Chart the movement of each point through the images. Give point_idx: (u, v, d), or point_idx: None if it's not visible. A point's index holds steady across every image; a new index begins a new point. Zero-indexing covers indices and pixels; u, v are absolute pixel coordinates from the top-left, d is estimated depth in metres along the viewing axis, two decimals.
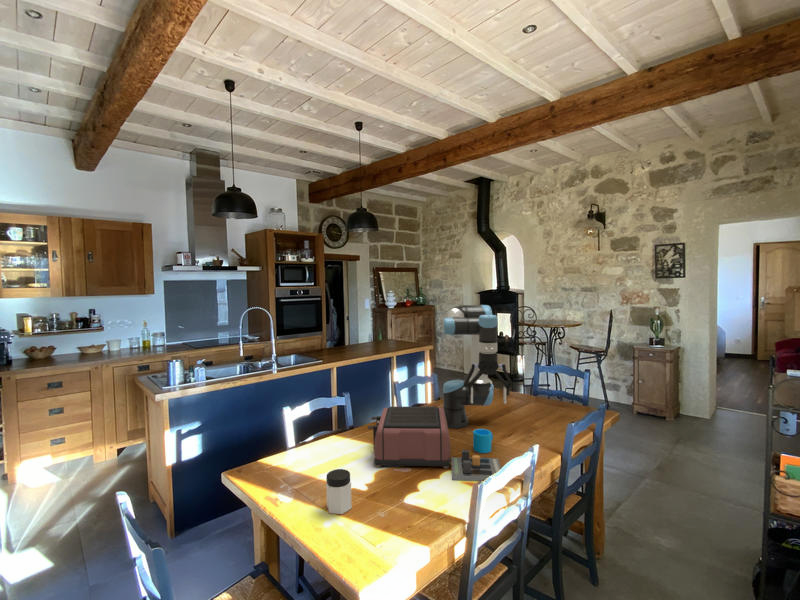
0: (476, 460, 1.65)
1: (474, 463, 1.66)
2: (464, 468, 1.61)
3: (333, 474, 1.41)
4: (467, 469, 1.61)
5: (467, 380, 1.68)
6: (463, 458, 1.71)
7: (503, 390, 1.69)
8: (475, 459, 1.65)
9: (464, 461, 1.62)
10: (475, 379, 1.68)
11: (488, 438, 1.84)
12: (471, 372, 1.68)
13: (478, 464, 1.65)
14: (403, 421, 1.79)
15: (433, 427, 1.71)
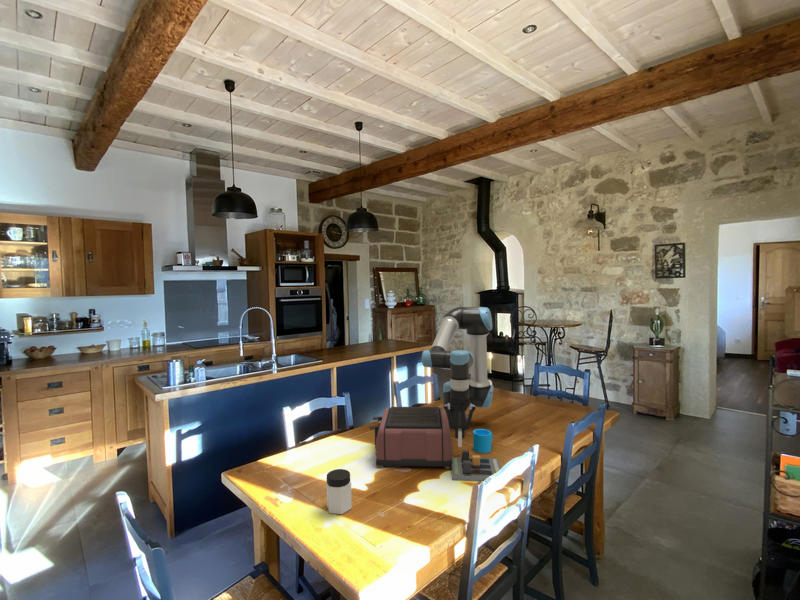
0: (476, 460, 1.65)
1: (474, 463, 1.66)
2: (464, 468, 1.61)
3: (333, 474, 1.41)
4: (467, 469, 1.61)
5: (451, 423, 1.65)
6: (463, 458, 1.71)
7: None
8: (475, 459, 1.65)
9: (464, 461, 1.62)
10: (456, 420, 1.65)
11: (488, 438, 1.84)
12: (448, 414, 1.65)
13: (478, 464, 1.65)
14: (405, 421, 1.78)
15: (435, 428, 1.71)
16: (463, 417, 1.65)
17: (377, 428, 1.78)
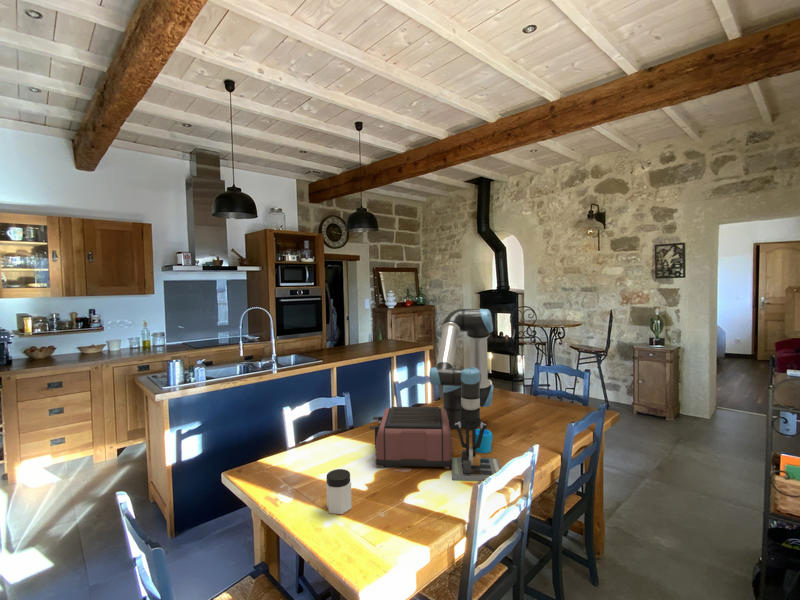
0: (476, 460, 1.65)
1: (474, 463, 1.66)
2: (464, 468, 1.61)
3: (333, 474, 1.41)
4: (467, 469, 1.61)
5: (462, 441, 1.65)
6: (463, 458, 1.71)
7: None
8: (475, 459, 1.65)
9: (464, 461, 1.62)
10: (467, 438, 1.65)
11: (488, 438, 1.84)
12: (459, 432, 1.65)
13: (478, 464, 1.65)
14: (405, 421, 1.78)
15: (435, 428, 1.71)
16: (474, 436, 1.65)
17: (377, 428, 1.78)
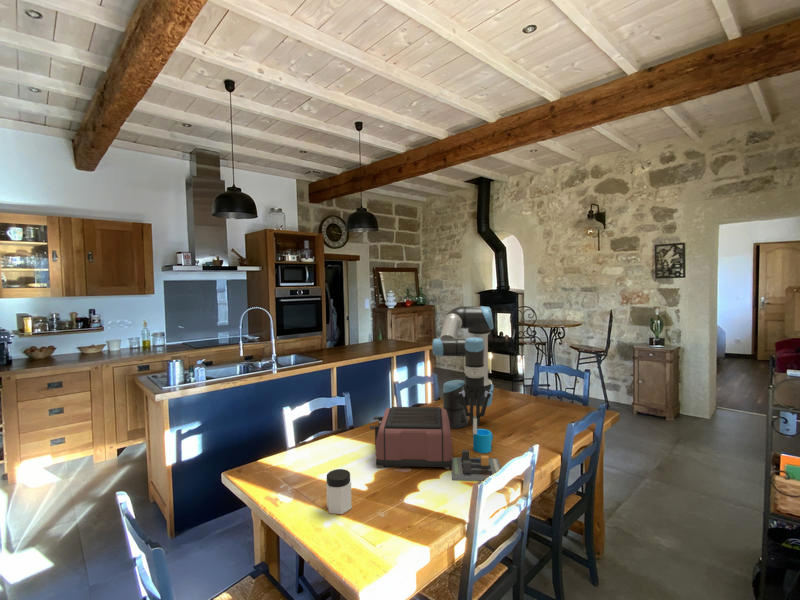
0: (484, 460, 1.65)
1: (483, 463, 1.65)
2: (464, 468, 1.61)
3: (333, 474, 1.41)
4: (467, 469, 1.61)
5: (466, 410, 1.65)
6: (463, 458, 1.71)
7: None
8: (483, 459, 1.65)
9: (464, 461, 1.62)
10: (471, 407, 1.64)
11: (488, 438, 1.84)
12: (463, 401, 1.64)
13: (487, 464, 1.65)
14: (405, 421, 1.78)
15: (435, 428, 1.70)
16: (478, 404, 1.64)
17: (377, 428, 1.78)
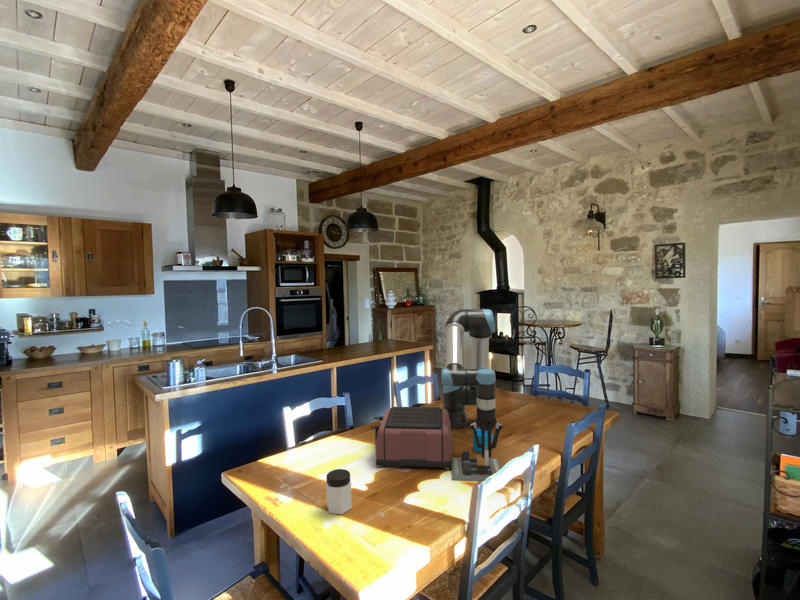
0: (480, 460, 1.65)
1: (479, 463, 1.65)
2: (464, 468, 1.61)
3: (333, 474, 1.41)
4: (467, 469, 1.61)
5: (477, 442, 1.65)
6: (463, 458, 1.71)
7: None
8: (479, 459, 1.65)
9: (464, 461, 1.62)
10: (483, 439, 1.65)
11: None
12: (475, 433, 1.65)
13: (483, 464, 1.65)
14: (405, 421, 1.78)
15: (435, 428, 1.70)
16: (490, 436, 1.64)
17: (377, 428, 1.79)
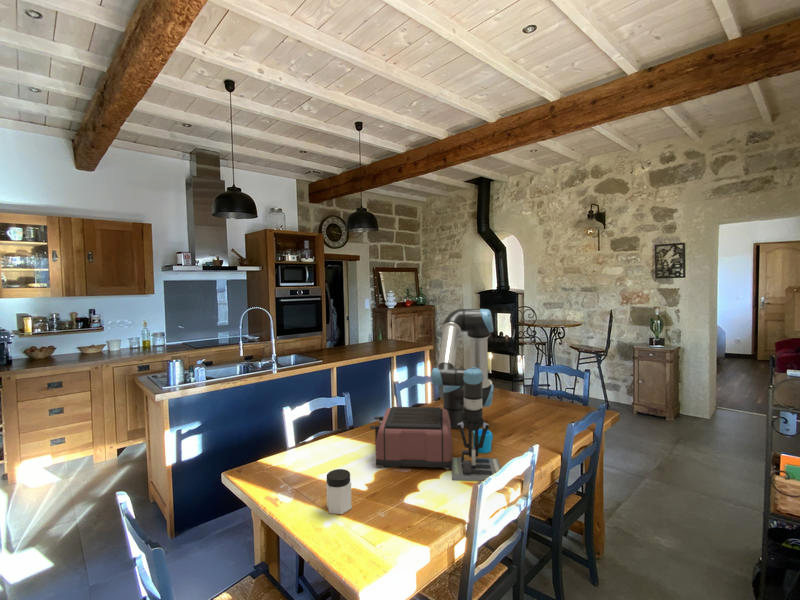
0: (467, 459, 1.66)
1: None
2: (464, 468, 1.61)
3: (333, 474, 1.41)
4: (467, 469, 1.61)
5: (464, 441, 1.65)
6: (463, 458, 1.71)
7: None
8: (466, 458, 1.66)
9: (464, 461, 1.62)
10: (470, 439, 1.65)
11: (488, 438, 1.84)
12: (462, 432, 1.65)
13: None
14: (405, 421, 1.78)
15: (435, 428, 1.70)
16: (477, 436, 1.65)
17: (378, 428, 1.78)
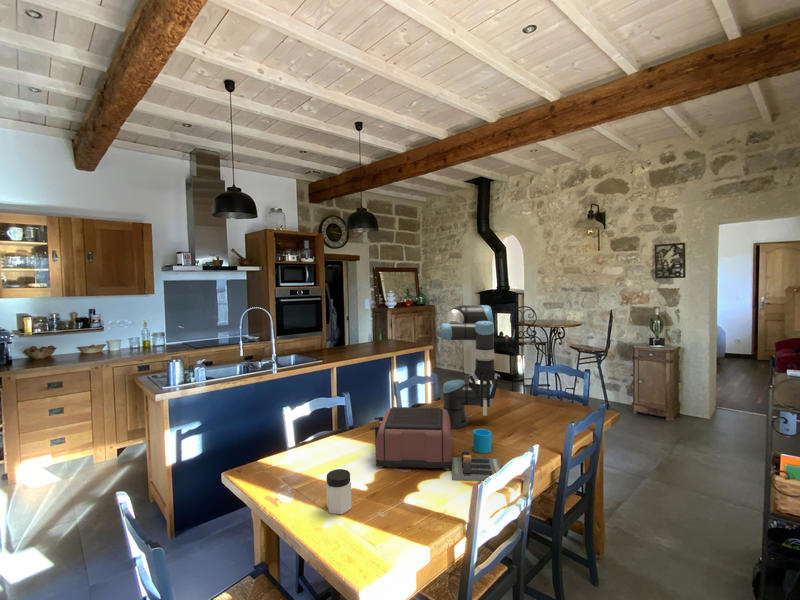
0: (467, 459, 1.66)
1: None
2: (464, 468, 1.61)
3: (333, 474, 1.41)
4: (467, 469, 1.61)
5: (476, 392, 1.68)
6: None
7: None
8: (466, 458, 1.66)
9: (464, 461, 1.62)
10: (481, 389, 1.67)
11: (488, 438, 1.84)
12: (474, 383, 1.68)
13: None
14: (405, 422, 1.78)
15: (435, 429, 1.69)
16: (488, 386, 1.67)
17: (377, 428, 1.78)
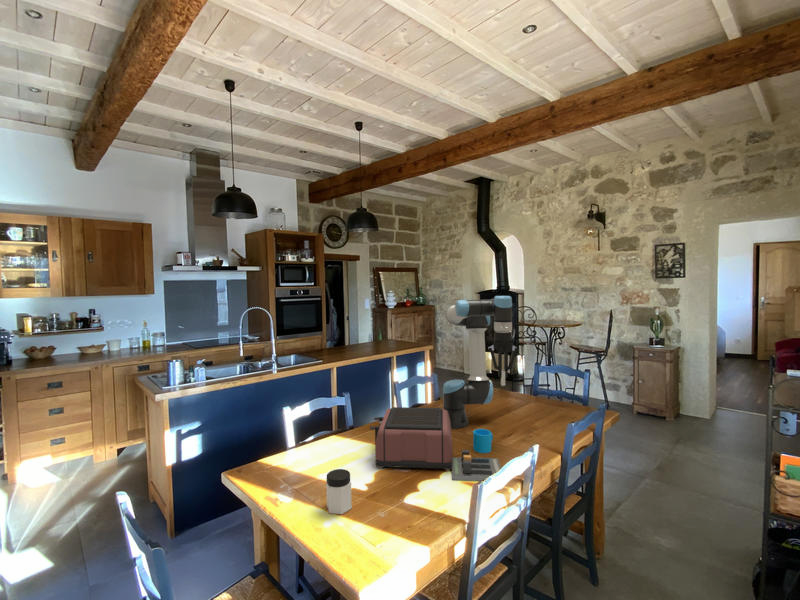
0: (467, 459, 1.66)
1: None
2: (464, 468, 1.61)
3: (333, 474, 1.41)
4: (467, 469, 1.61)
5: (495, 363, 1.76)
6: None
7: None
8: (466, 458, 1.66)
9: (464, 461, 1.62)
10: (500, 360, 1.76)
11: (488, 438, 1.84)
12: (492, 355, 1.76)
13: None
14: (405, 422, 1.77)
15: (435, 429, 1.69)
16: (506, 358, 1.76)
17: (377, 428, 1.78)
